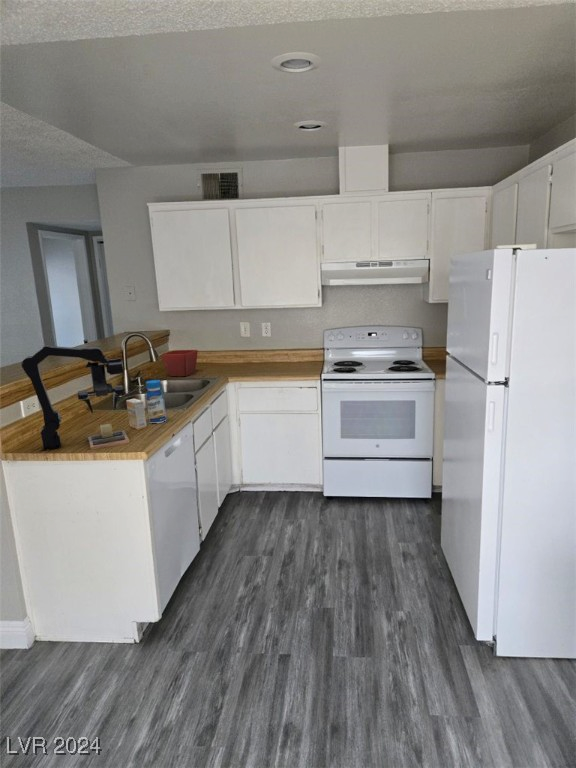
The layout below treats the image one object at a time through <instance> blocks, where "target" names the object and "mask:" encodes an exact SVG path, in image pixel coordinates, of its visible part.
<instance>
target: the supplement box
mask: <svg viewBox="0 0 576 768" xmlns="http://www.w3.org/2000/svg"><path fill="white" fill-rule="evenodd" d="M125 402H126V408H127V409H126V410H127V415H128V422H129V423H128V424H129V427H130V428H133V429H135V430H138V431H139V430H144V429H147V418H146V412H145V402H144V400H142V399H138V398H131V399H127V400H126V401H125Z"/></svg>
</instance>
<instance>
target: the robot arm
mask: <svg viewBox="0 0 576 768" xmlns="http://www.w3.org/2000/svg"><path fill="white" fill-rule="evenodd" d="M49 356H52V357H53V356H54V357H67V358H79V359H83V360H86V361H88V362H87V363H86V364H85V368H90V374H91V382H92V389H93V390H92V391H88V390H87V389H85V390H84V389H83V390H78V391H77V392H76V393H77V395H76V396H77V399H78V400H81V401H82V402H85V403H86V405H87V406H88V409H89V410H90V412H91V414H93V413H94V412H93V408H92V404H91V400H90V398H89V397H92V396H96V397H97V398H100V397H104V396H105V397H106V396H108V395H109V394H113V395H112V399H113V400H112V402H113V410H114V411H116V408H117V403H118V400H119V397H120V396H122V395H123V394H125V388H124V387H123V385H122V384H120V385H114V386H113V383H112V382H109V383H108V382H107V376H106V374H109V375H110V376H113V375H115V376H116V375H121V374H124V366H123V364H122V358H121V357H117V358H114V359H113V358H112V359H108V357H106V356H105V355H104V354H103V350H102V349H101V348H100V347H98V346H89V347H88V346H87V347H80V348H79V347H68V346H54V345H53V346H52V345H50V344H47V345H44V346H43V347H42V348H41V349H40V350H38V351H37V352H36V353H35V354H33V355H28V356H27V357H25V358H24V359H23V360H22V362H21V369H23V371H24V373H25V375H26V376H27V377H28V379H29V380H30V382H31V384H32V386H33V387H32V388H34V389H33V390H34V391H35V394H36V396H37V399H38V402H39V405H40V408H41V411H42V415H43V423H44V425H43V426H42V427H41V430H40V435H41V441H42V450H43V449H44V450H45V451H47V450H46V449H51V450H55V449H60V448H61V446H62V441H61V434H59V432H58V430H59V428H60V427H61V422H62V418H63V417H62V416H61V414H60V410H59V409H57V410H55V408H54V407H53V405H52V403H51V402H52V401H51V400H50V397H49V394H48V391H47V389H46V386H45V383H44V381H43V378H42V373H41V366H40V363H42V362H43V361H44V360H45V359H46V358H48V357H49ZM99 362H100V363H99ZM105 367H106V368H105Z"/></svg>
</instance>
